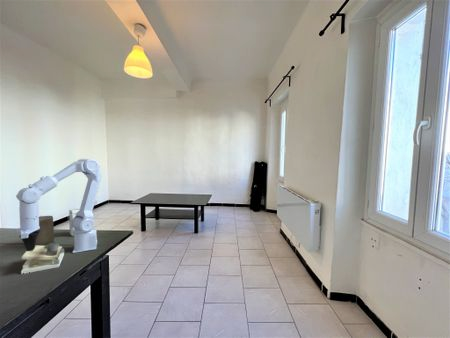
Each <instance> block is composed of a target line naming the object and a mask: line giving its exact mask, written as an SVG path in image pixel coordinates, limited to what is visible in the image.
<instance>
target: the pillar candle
mask: <svg viewBox="0 0 450 338" xmlns="http://www.w3.org/2000/svg"><path fill="white" fill-rule="evenodd" d="M39 226H40V229H38V230H40V233H39V235H38V237H37V240H36V245H39V246H45V245H48V244H50V243H55V234H54V233H55V231H54V230H55V228H54V216H53V215H39Z"/></svg>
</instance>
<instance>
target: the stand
mask: <svg viewBox="0 0 450 338" xmlns="http://www.w3.org/2000/svg"><path fill="white" fill-rule="evenodd" d="M64 255H65V248H63V249H62V251H61V253H60V255H59V258H58V259H57V260H49V259H26V261H25V262H24V264H23V265H22V269H21V271H20V273H21V275H24V274H29V272H30V273H33V272H40V271H43V270H49V269H54V268H59V267H60V265H61V263H62V260H63V258H64ZM23 273H24V274H23Z"/></svg>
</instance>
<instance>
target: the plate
mask: <svg viewBox="0 0 450 338" xmlns="http://www.w3.org/2000/svg"><path fill="white" fill-rule="evenodd" d="M62 249H64V247H63V246H60V244H59V243H58V242H54V243H50V244H48V245H45V246H39V245H35V249H34V250H31V251H27V250H25V252H24V253H23V255H22V256H21V260H28V259H49V260H57V259H58V258H59V255H60V253H61V251H62Z"/></svg>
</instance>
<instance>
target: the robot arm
mask: <svg viewBox="0 0 450 338" xmlns="http://www.w3.org/2000/svg"><path fill="white" fill-rule="evenodd" d="M100 167H101V165H100V163H99V162H98V161H97V160H95V158H80V159H78V160H76V161H73V162H71V164H69V165H67V166H66V167H64V168H63V169H61V170H59V171H58V172H56V173H55V174H54V175H52V176H50V175H46V176H41V177H40V178H39V180H37V181H35V182H34V183H33V184H31V183H29V184H28V185H27V186H28V187H23V188H20V190H19V191H18V192H17V194H16V195H15V196H16V199H17V200H18V201H19V209H18V210H19V211H18V212H19V226H20V227H19V228H17V229H15V232H16V233H18V232H19V233H20V234H19V239H20V240H21V241H22V242H23V244H24V247H25V251H31V250H34V249H35V245H36V240H37V237H38V235H39V233H40V230H38V229H40V226H39V217H40V214H39V201H40V199H41V197H42V196H43V195H45V194H47V193H49V192H50V191H51V190H53V189H55V188H56V187H58V183H59V182H61V181H62V180H64V179H66V178H68V177H69V176H72V175H73V174H75V173H83V175H85V177H87V182H86V186H85V188H84V193H83V196H82V200H81V203H80V207H79V209H80V210H79V211H78V212H77V213H76V216H75V217H74V219H73V220H72V222H71V225H72V227H73V228H74V236H73V241H74V242H73V244H74V247H73V250H72V254H74V253H83V252H86V251H92V250H93V251H94V250H97V246H98V237H97V229H94V226H95V221H94V219H95V216H94V215H95V214H94V213H93V210H94V206H95V202H96V198H97V195H98V192H99V191H98V190H99V187H100V184H101V179H102V174H101V173H102V172H101V169H100Z"/></svg>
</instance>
